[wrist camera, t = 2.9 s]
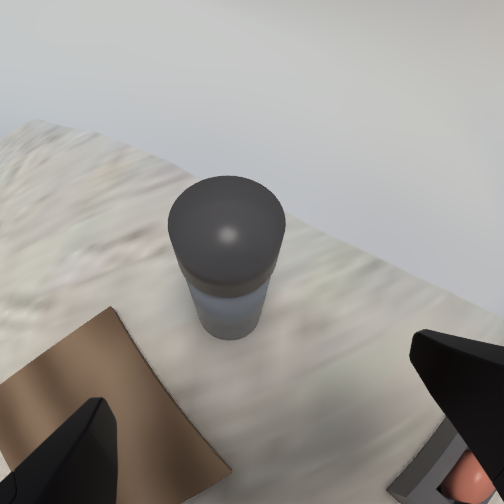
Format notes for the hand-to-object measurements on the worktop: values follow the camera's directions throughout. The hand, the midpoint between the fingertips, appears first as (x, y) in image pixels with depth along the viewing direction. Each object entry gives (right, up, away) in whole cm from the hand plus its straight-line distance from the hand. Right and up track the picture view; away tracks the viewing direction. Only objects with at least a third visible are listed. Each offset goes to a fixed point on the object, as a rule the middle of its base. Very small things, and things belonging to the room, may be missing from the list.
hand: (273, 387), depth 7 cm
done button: (+16, -14, +6) cm, 22 cm away
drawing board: (-13, -10, +8) cm, 18 cm away
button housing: (+15, -15, +7) cm, 22 cm away
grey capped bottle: (-2, -1, +14) cm, 14 cm away
